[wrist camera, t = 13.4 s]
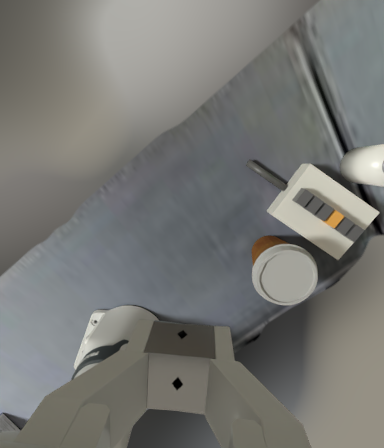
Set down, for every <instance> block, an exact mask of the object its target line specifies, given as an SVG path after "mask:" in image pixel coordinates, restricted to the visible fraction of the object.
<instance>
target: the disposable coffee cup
mask: <svg viewBox="0 0 384 448" xmlns="http://www.w3.org/2000/svg"><path fill="white" fill-rule="evenodd" d="M252 259H253V269H252V280H253V284H254V287H255V289H256V290H257V292H258V293H259V294H260V295H261V296H262V297H263V298H265V299H266V300H268V301H270V302H273V303H275V304H278V305H293V304H297V303H299V302H301V301H303V300H305V299H306V298H307V297H309V295H310V294H311V293H312V292H313V290H314V289H315V287H316V284H317V278H318V270H317V265H316V262H315V260H314V258H313V257H312V256H311V254H310V253H309V252H307V251H306V250H305V249H304V248H301V247H299V246H297V245H293V244H289V243H287V242H285V241H283V240H281V239H279V238H277V237H275V236H264V237H261V238H260V239H258V240H257V241H256V242H255V244H254V245H253V248H252Z"/></svg>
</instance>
